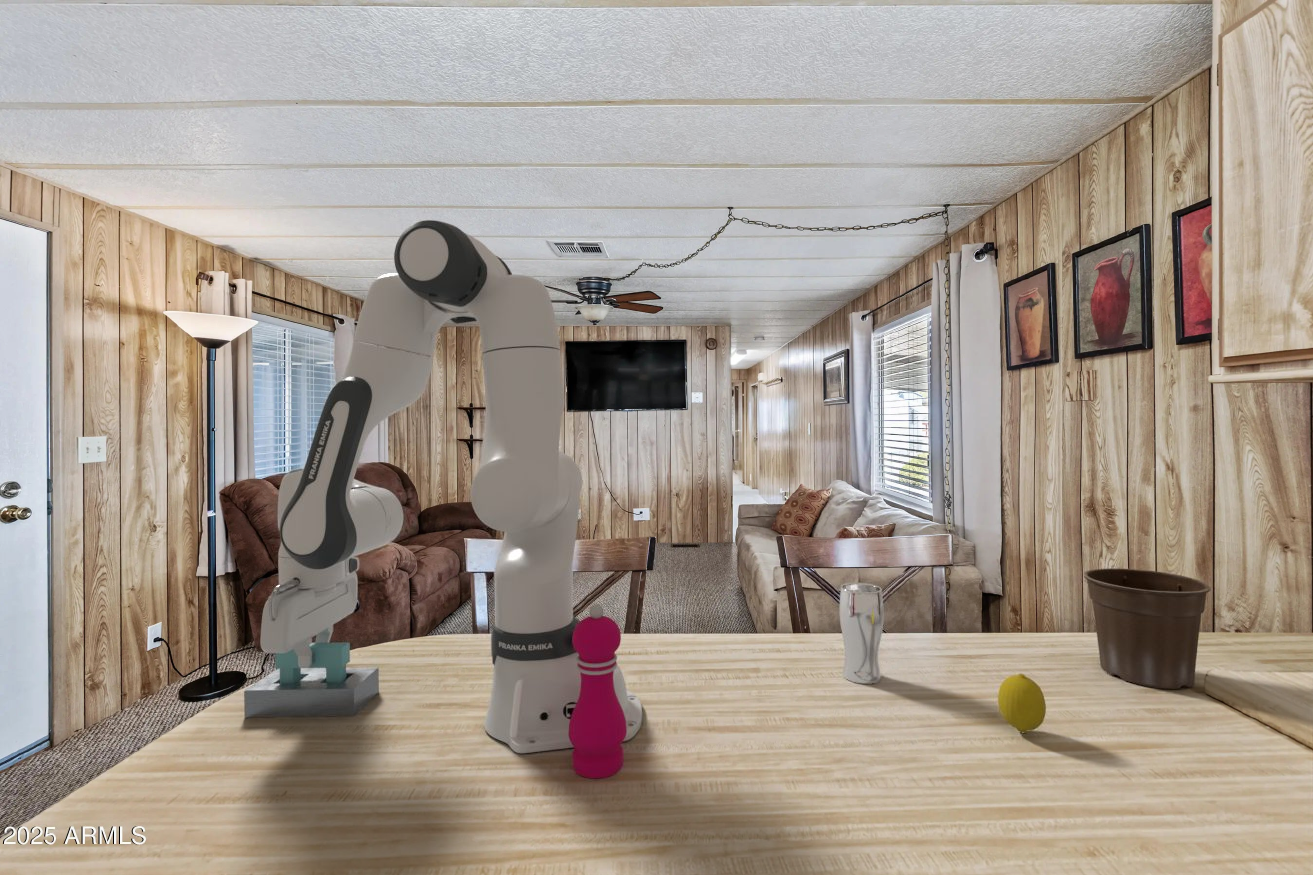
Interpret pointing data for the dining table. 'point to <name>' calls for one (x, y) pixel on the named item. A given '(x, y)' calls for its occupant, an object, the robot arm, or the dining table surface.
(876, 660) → the beer glass
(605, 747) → the pepper mill
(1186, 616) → the plant pot
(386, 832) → the dining table surface
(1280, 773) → the dining table surface
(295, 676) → the teal arch block
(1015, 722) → the lemon
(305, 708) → the slotted base block
